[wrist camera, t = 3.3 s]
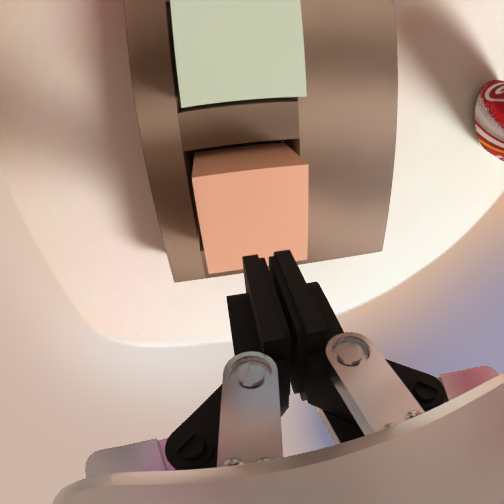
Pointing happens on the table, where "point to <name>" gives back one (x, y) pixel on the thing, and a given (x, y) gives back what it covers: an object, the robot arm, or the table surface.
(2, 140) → the table surface
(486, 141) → the soda can
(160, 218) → the key panel
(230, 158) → the key terracotta
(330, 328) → the robot arm
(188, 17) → the key sage
